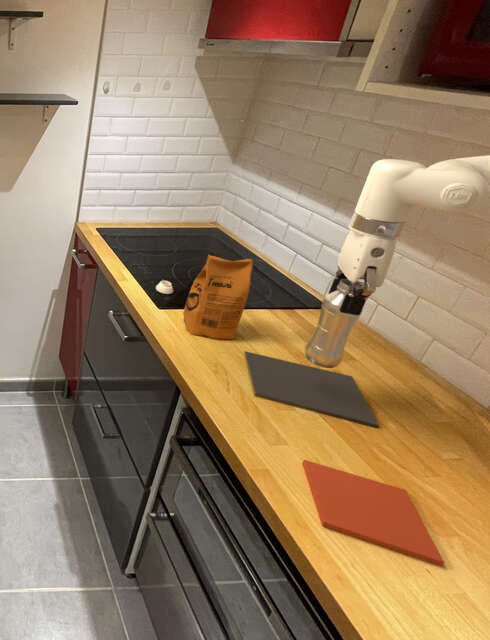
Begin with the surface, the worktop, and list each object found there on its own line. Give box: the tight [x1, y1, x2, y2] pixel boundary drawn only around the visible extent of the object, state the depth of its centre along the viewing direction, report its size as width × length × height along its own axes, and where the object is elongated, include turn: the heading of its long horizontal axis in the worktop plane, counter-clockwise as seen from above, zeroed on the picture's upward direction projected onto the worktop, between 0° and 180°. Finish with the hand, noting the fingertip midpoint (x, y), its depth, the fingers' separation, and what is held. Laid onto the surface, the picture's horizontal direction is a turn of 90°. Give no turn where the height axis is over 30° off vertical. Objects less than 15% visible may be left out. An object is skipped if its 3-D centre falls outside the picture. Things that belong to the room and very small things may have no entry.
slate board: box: [243, 350, 380, 429], centre depth 102 cm, size 22×16×1 cm
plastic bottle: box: [304, 279, 364, 369], centre depth 95 cm, size 6×7×20 cm
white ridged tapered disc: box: [155, 280, 174, 295], centre depth 140 cm, size 5×3×5 cm
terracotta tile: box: [302, 459, 445, 567], centre depth 75 cm, size 15×13×1 cm
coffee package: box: [182, 254, 254, 340], centre depth 118 cm, size 10×12×22 cm
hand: (343, 303), depth 93 cm, fingers closed on plastic bottle, 6 cm apart
